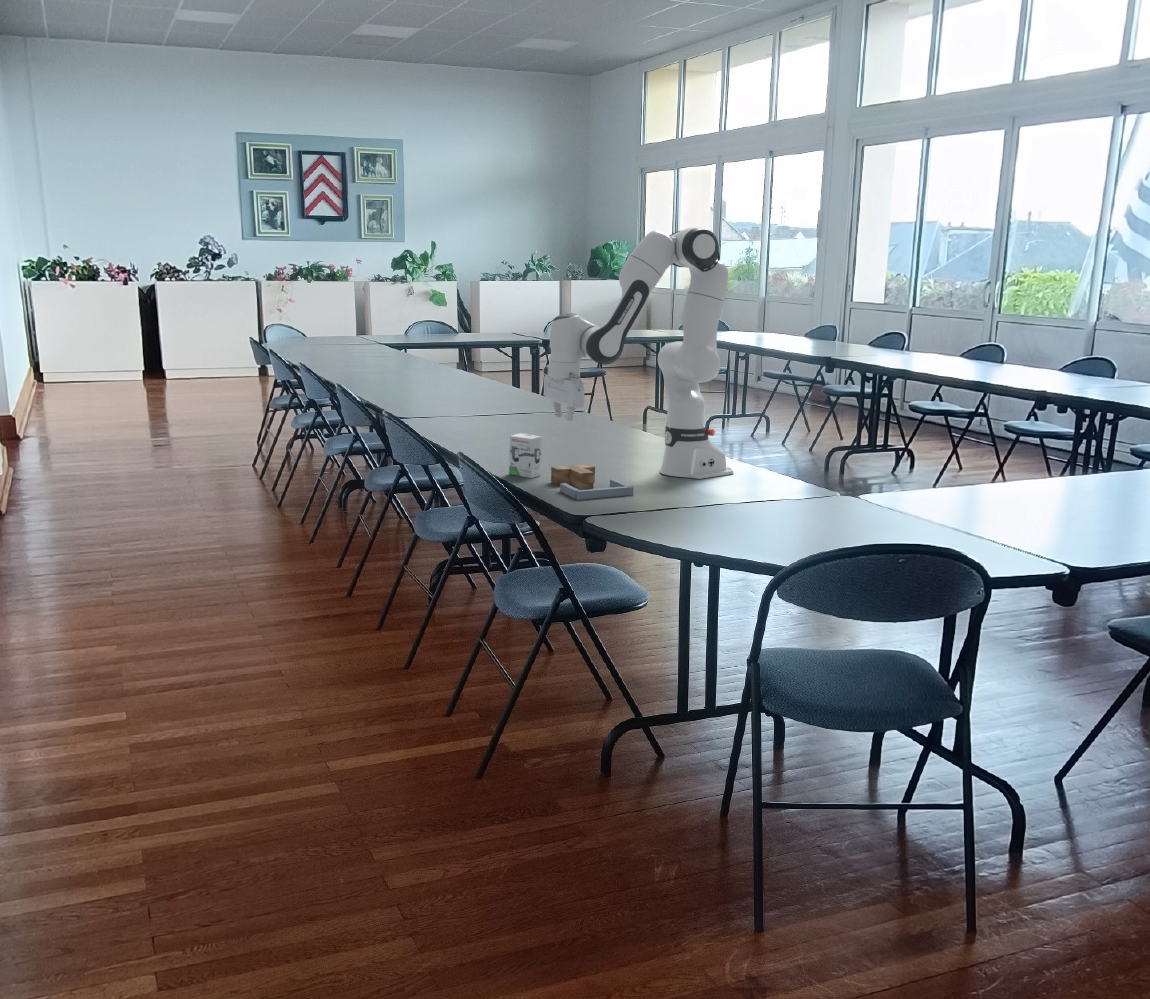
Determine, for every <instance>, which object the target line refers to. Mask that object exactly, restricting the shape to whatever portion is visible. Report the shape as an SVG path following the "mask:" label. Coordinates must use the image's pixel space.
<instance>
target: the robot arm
mask: <svg viewBox="0 0 1150 999" xmlns="http://www.w3.org/2000/svg"><path fill="white" fill-rule="evenodd" d="M719 250H720V248H719V241H718V238H717V236H716V235H715V234H714V232H712V231H711V230H710V229H708V228H705V227H701V226H700V227H698V226H697V227H688V228H685V229H682V230H678V231H675V232H673V233H671V234H668V233H666V232H664V231H661V230H652V231H650V232H649V233H647V234H646V235H645V236H644V237H643V238H642V240H641V241H640V242H639V243H638V244H637V245H636V246H635V247H634V249H633V250H632V252H631V253H630V254H629V256H628V257H627V258H626V260H625V262H624V263H623V265H622V267H621V270H620V271H619V272H620V273H619V275H618V281H619V285H620V288H621V298H620V300H619V302H618V303H617V305H616V308H615V309H614V311H613V312H612V314H611V316H610V317H609V319H608V321H607V322H606V323H605V324H604V325H602V326H600V325H596V324H594V323H592V322H590V321H587V320H586V319H584V318H582V317H581V316H580V315H579V314H577V313H564V314H560V315H557V316H555V317H554V318H553V319H552V321H551V325H550V333H549V348H550V356H549V363H548V364H547V365H546V366H544V367H543V368H542V374H543V394H544V398H545V400H548V401H552V407H553V411H554V417H555V418H558V419H559V418H562V417H563V411H562V409H561V405H564V406H566V410H567V411H566V414H564V415H565V418H564V419H565V421H566V422H573V421H574V415H575V412H576V408H577V409H579V408H584V406H585V401H586V400H585V399H586V398H585V386H584V382H583V381H582V379H581V359H582V358H586V359H588V360H591V361H593V362H595V363H597V364H599V365H602V366H603V365H604V366H606V365H611V364H614V363H615V362H617V361H618V359H620V357H621V356H622V355H623V354H622V353H623V351H624V347H625V342H626V339H627V335H628V333H629V332H630V329H631V328H632V326H633V325H634V323H635V321H636V319H637V318H638V316H639V314H640V312H641V311H642V308H643V307H644V306H645V304H646V301H647V300H648V298H649V297H650V294H651V293H652V291H653V290H654V289H655V287H656V286H657V284H658V283H659V281H661V278H662V277H663V275H664V274H665V272H666V270H667V269H668V268H669V267H670V266H674V267H677V268H685V269H686V268H687V269H688V270H689V273H690V280H689V282H690V283H689V285H688V288H687V289H688V290H687V292H686V296H685V301H684V303H683V308H682V312H681V315H680V322H681V324H682V328H683V332H682V333H683V338H682V340H681V341H678V340H677V341H673V342H669V343H667V344H664V345H663V346H662V347H661V348H660V349H659V351H658V353H657V354H658V355H657V364H658V367H659V369H660V371H661V372H662V375H663V381H664V386H665V391H666V397H667V398H666V399H667V413H666V414H667V416H666V426H664V427H665V428H664V429H665V430H664V444H665V445H664V446H665V447H664V452H663V458H662V462H661V465H660V468H659V473H660V474H663V475H664V476H670V477H677V478H688V479H689V478H690V479H699V480H700V479H709V478H712V477H713V478H714V477H722V476H728V475H733V474H734V470H733V468H732V467H729V466H727V458H726V455H725V452H724V451H723V450H722V449H720V448H719V447H718V446H717V445H716V444H715V443H714V442H712V441H711V440H710V439H709V436H710V437H711V436H712V437H713V436H715V435H716V430H715V429H713V428H707V427H706V426H705V413H706V412H705V411H706V401H705V398H704V396H703V394H702V392H701V388H700V384H701V383H706V382H711V381H712V380H714V379H715V378H716V377H717V376H718V374H719V373H720V369H721V358H720V356H719V354H718V349H717V347H718V345H717V344H718V342H717V337H718V327H719V321H720V318H721V315H722V310H723V307H724V302H725V299H726V294H727V290H728V289H727V288H728V282H729V281H728V280H729V268H728V267H727V265H726V264H725V263H724V262H723V261H721V260H720V259H721V254H720V251H719ZM699 383H700V384H699Z"/></svg>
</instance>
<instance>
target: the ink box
mask: <svg viewBox="0 0 1150 999" xmlns="http://www.w3.org/2000/svg"><path fill="white" fill-rule="evenodd" d="M542 438H543V437H542V436H540V435H534V434H528V433H521V432H520V433H516V434H512V435H510V436H509V464H508V465H509V466H508V467H509V468H508V470H509V471H508V474H509V475H512V476H516V477H517V476H518V477H524V478H528V479H533V478H537V477H540V476H541V475H542V474H541V473H542V472H541V471H542Z"/></svg>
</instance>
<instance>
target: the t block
mask: <svg viewBox="0 0 1150 999" xmlns="http://www.w3.org/2000/svg"><path fill="white" fill-rule="evenodd" d="M550 471H551V472H550V483H551V484H553V485H556V486H560V483H566V484H568V485H570V486H572V487H575V488H577V489H579V490H589V489H594V483H595V482H596V481H595V480H596V467H595V466H594V465H592V464H590V463H589V464H575V465H573V464H572V465H562V466H561V465H560V466H551V467H550Z"/></svg>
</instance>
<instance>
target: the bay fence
mask: <svg viewBox="0 0 1150 999" xmlns="http://www.w3.org/2000/svg"><path fill="white" fill-rule="evenodd" d="M634 488H635V487H634V486H633V485H630V484H627V483H625V482H623V481H621V480H618V479H616V478H610V480H609V487H602V488H601V487H600V488H589V489H579V488H577V487H575V486H572V485H570V484H566V483H560V485H559V492H561V493H563V494H565V495H566V496H569V497H571V498H573V499H574V500H577V501H580V500H581V501H582V500H591V499H602V498H613V497H615V498H616V497H623V496H634V490H635V489H634Z"/></svg>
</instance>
